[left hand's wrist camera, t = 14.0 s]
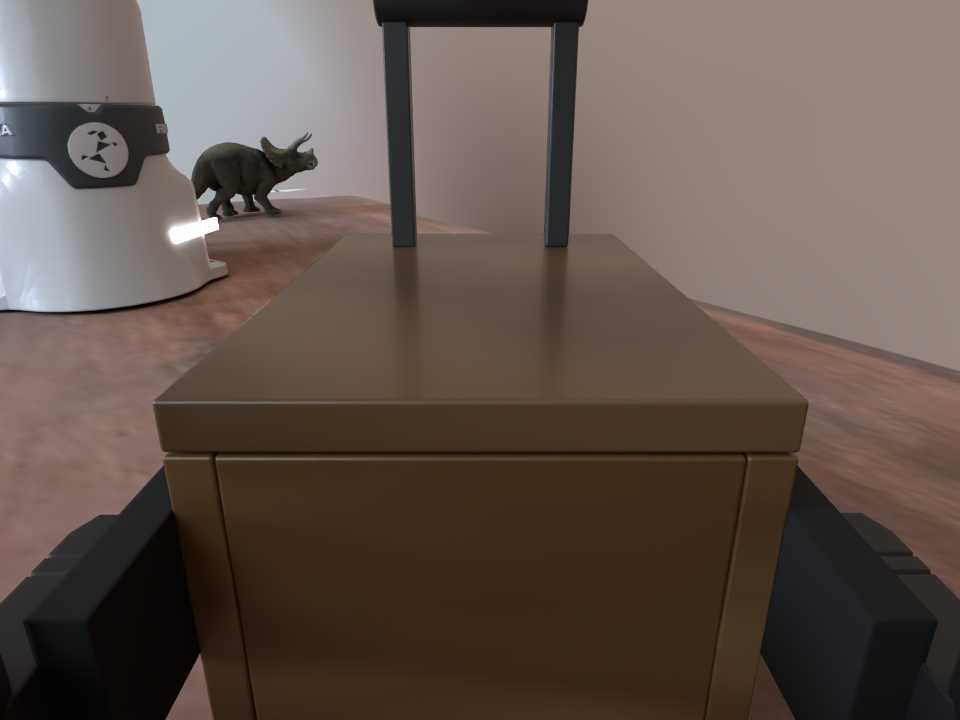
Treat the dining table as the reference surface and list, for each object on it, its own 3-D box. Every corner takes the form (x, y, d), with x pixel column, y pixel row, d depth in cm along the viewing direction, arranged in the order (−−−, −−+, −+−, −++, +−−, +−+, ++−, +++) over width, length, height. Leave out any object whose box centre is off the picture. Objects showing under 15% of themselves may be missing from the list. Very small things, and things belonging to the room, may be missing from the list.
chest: (362, 483, 25) (346, 261, 22) (598, 483, 25) (614, 261, 22) (239, 862, 12) (159, 456, 9) (720, 862, 12) (800, 457, 9)
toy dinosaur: (169, 228, 82) (153, 134, 78) (149, 220, 88) (134, 133, 84) (325, 212, 96) (318, 132, 92) (299, 207, 102) (291, 131, 98)
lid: (348, 257, 22) (328, -30, 19) (612, 257, 22) (632, -29, 19) (160, 453, 9) (5, -349, 6) (801, 454, 9) (958, -348, 6)
